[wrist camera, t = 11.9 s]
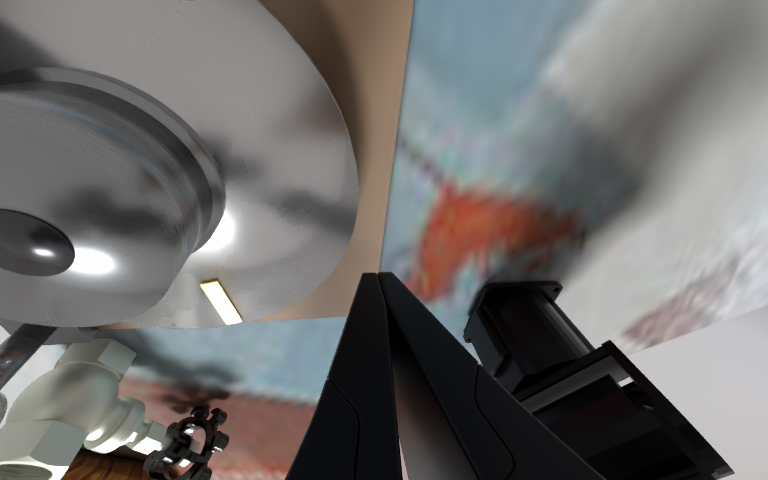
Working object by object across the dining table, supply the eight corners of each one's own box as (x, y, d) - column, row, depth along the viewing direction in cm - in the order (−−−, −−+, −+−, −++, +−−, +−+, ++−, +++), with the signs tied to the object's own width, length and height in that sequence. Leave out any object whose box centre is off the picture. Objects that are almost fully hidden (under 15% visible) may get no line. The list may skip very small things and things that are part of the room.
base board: (418, -88, 9) (429, -102, 8) (371, 303, 20) (373, 317, 19) (-473, -296, 6) (-633, -362, 5) (49, 319, 16) (31, 337, 15)
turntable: (-285, -307, 5) (-1619, -1058, 2) (414, 72, 11) (458, 88, 7) (-38, 277, 13) (-187, 374, 9) (305, 325, 18) (299, 397, 15)
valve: (28, 352, 18) (172, 421, 25) (-98, 485, 13) (130, 524, 20) (120, 318, 17) (240, 397, 25) (30, 440, 12) (216, 496, 19)
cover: (-55, 16, 7) (-369, -2, 4) (238, 122, 10) (193, 164, 6) (9, 231, 11) (-134, 318, 7) (215, 269, 13) (178, 347, 10)
